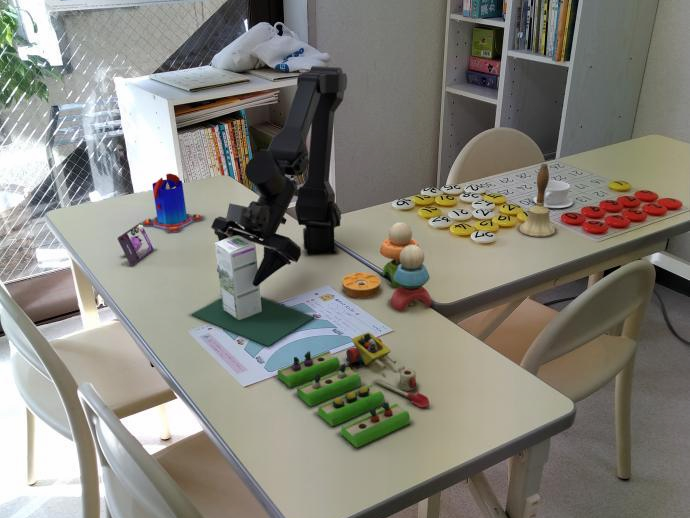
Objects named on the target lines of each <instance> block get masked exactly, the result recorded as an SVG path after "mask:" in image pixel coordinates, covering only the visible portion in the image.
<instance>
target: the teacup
mask: <svg viewBox="0 0 690 518" xmlns="http://www.w3.org/2000/svg"><path fill="white" fill-rule="evenodd" d="M570 189H571V185H570V184H569V183H568V182H565V181H561V180H556V179H555V180H554V179H552V180H551V179H549V181H548V185H547V187H546V189H545V195H544V206H545V207H547V208H549V209H561V208H567V207H570V206H572V205H573V204H574V201H573V199H571V198H570V197H568V195H569V193H570ZM537 196H538V195H536V196H534V197H533V198H532V201H533V202H534V203H535V204H536V203H537Z"/></svg>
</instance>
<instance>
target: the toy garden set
mask: <svg viewBox="0 0 690 518" xmlns="http://www.w3.org/2000/svg"><path fill="white" fill-rule="evenodd" d="M351 342H352V343H353V345H354V346H353V347H350V348H348V349H347V350H346V351H345V352H346V358H347V360H348V361H349V362H350V363H352V364H354V363H357V362H359V360H360V358H361V360H362V363H363V364H364V365H365V366H369V365H371V364H373V363H376V364H377V365H379V366H380V367H381V368H382V369H385V368H386V365H385V364H384V363H383V362H382V361H381V360H382V359H383V358H384V359H385V358H386V359H388V360H389V361H390V362H391V363H393V364H396V363H397V360H396V359H395V358H393V357H392V356H391V355H390V353H391V352H392V350H391V349H390V348H389V347H387V346H386V345H385V344H384V343H383V341H382V340H381V338H379V337H376V336H375V335H374V334H372V332H369V331H367V332H365V333H362V334H360V335H358V336H355V337H353V338H351ZM303 357H304V358H305V359H304V360H301V361H300V359H299V358H298V357H297V356H294V357H293V363H292V364H291V365H287V366H285V367H282V368H280V369H278V370H277V378H278V379H279V380H280V381H281V382H282V383H284V385H286V386H287V387H288V388H290V389H291V388H294V387H296V386H297V387H296V396H297V397H299V398H300V399H301V400H302V401H303V402H305V403H306V404H307V405H308V407H313V406H316V405H318V404H320V403H323V402H325V401H328V400H330V399H333V400H331V401H328V402H327V403H324V404H321V405H320V406H318V408H317V413H318V416H319V417H321V419H323V420H324V421H325V422H326V423H328V424H329V425H330V426H331V427H336V426H337V425H340V424H342V423H344V422H346V421H349V420H351V419H353V418H355V417H357V416H360V415H362V414H365V413H367V412H369V414H368V415H365V416H363V417H361V418H360V419H357V420H355V421H354V420H353V422H350V423H348V424H345V425H344V426H343V425H342V427H341V428H340V433H341V436H342V437H343V438H345V439H346V440H347V441H348V442H349V443H350V444H351V445H353V446H354V447H355V448H357V449H358V448H360V447H362V446H364V445H366V444H369V443H371V442H373V441H375V440H378V439H380V438H381V437H384V436H386V435H388V434H390V433H392V432H395V431H397V430H399V429H401V428H402V427H405V426H408V424H410V423H411V422H410V421H411V416H410V413H409V411H408V410H405V409H403V408H402V407H401V406H400V405H399V404H398V403H393V404H389V402H385V396H384V393H383V392H382V391H381V390H379V389H377V388H376V387H375V386H374V385H373V384H369V385H367V386H362V379H361V378H362V377H361V376H360V374H359V373H358V372H357V373H356V372H355V371H354V370H352V369H351V367H350V366H347V365H346V363H341V362H340V359H339V357H338V356H335V355H334V354H333V353H332V352H331V351H330V350H327V351H324V352H321V353H319V354H317V355H315V356H312V355H311V350H309V351H307V352H306V353H305V354H304V356H303ZM397 371H398V373H399V387H400V389H399V388H398V387H397V388H396V387H395V386H392V385H390V384H388V383H385V382H383V381H381V380H379V379H377V380H376V382H375V383H376V384H377V385H379V386H382V387H384V388H386V389H388V390H390V391H393V392H395V393H396V394H399V395H402V396H404V397H406V398H407V399H409V400H410V401H411V402H410V403H411V404H412V405H414V406H417V407H419V408H425V407H428V406H430V400H429V397H428V396H426V395H424V394H422V393H421V392H418V391H417V392H416V394H413V392H410V391H412V390H415V389H416V387H417V373H416V370H415V369H413V368H406V366H404V365H400V366H399V367H398V368H397ZM331 372H332V373H331ZM329 373H330V374H329ZM324 375H325V376H324ZM308 381H310V382H308ZM306 382H307V383H306ZM360 386H361V387H360ZM359 387H360V388H359ZM356 388H359V389H357V390H354V389H356ZM352 390H354V391H352ZM349 391H351V392H349ZM347 392H348V393H347ZM408 392H409V393H408ZM344 393H346V394H345V395H343V396H341V397H337V396H339V395H342V394H344ZM378 407H381V408H382V409H379V410H377V409H376V408H378Z"/></svg>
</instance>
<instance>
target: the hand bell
mask: <svg viewBox="0 0 690 518" xmlns="http://www.w3.org/2000/svg"><path fill="white" fill-rule="evenodd" d="M536 176H537V177H536V186H537V195H536V196H537V203H535V205H533V206H531V207H530V208H529V212H528V214H527V218H526V219H525V221H524V222H523V223H522V224H521V225H520V226H519V228H518V230H519V232H520V233H522V234H524V235H526V236H529V237H533V238H534V237H535V238H546V237H550V236H552V235H554V234H555V233H556V229H555V226H553V224H552V223H551V220H550V219H551V218H550V208H549V207H545V206H544V195H545V189H546V187H547V185H548V181H549V180H550V171H549V169H548V164H547V163H541V166H540V168H539V170H538V172H537V175H536Z"/></svg>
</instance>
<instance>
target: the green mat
mask: <svg viewBox="0 0 690 518" xmlns="http://www.w3.org/2000/svg"><path fill="white" fill-rule="evenodd" d="M261 307H262V312H259V313H257V314H255V315H252V316H250V317H247V318H244V319H241V320H237V319H236V318H234V317H233V316H231V315H230V314H229V313H227V312H225V311H224V310H223V304H222V297H221V298H220V299H218V300H216V301H214V302H212V303H210V304H208V305H206V306H204V307H202V308H201V309H199V310H196V311H194V312H193V313H191V316H193V317H195V318H197V319H200V320H202V321H204V322H207V323H209V324H211V325H214V326H216V327H219V328H221V329H223V330H226V331H229V332H231V333H233V334H235V335H238V336H240V337H243V338H245V339H247V340H250V341H251V342H254V343H256V344H260V345H262V346H264V347H267V348H269V347H271V346H273V345H274V344H276V343H278V342H279V341H281V340H282V339H284V338H286V337H287V336H289V335H290V334H292V333H294V332H295V331H297V330H298V329H300V328H301V327H303V326H304V325H306V324H307V323H309V322H311V321H312V320H314V319H315V316H312V315H311V314H307V313H305V312H302V311H299V310H296V309H293V308H291V307H289V306H286V305H283V304H280V303H278V302H275V301H272V300H269V299H266V298H264V297H261Z"/></svg>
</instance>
